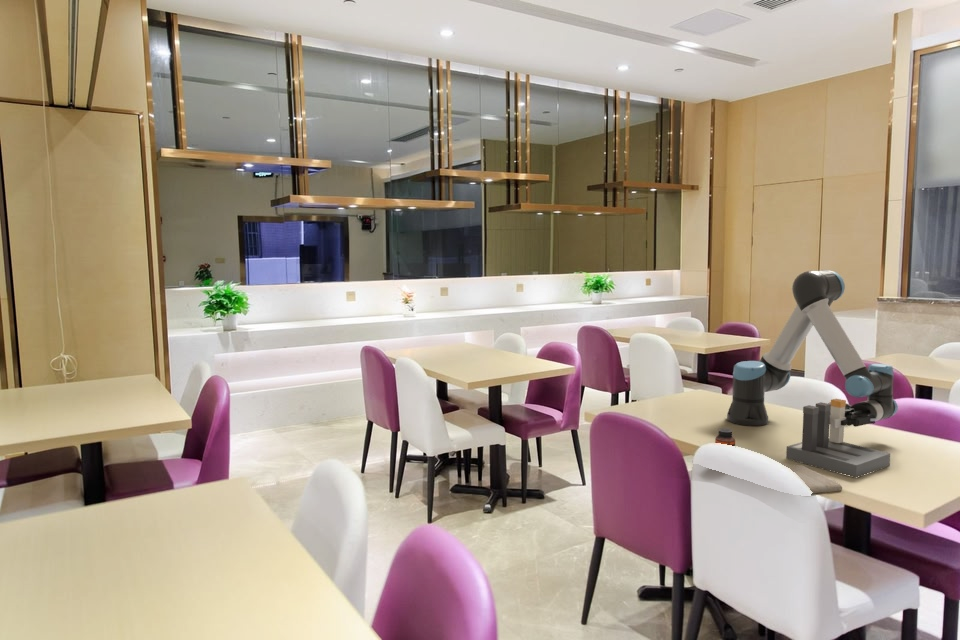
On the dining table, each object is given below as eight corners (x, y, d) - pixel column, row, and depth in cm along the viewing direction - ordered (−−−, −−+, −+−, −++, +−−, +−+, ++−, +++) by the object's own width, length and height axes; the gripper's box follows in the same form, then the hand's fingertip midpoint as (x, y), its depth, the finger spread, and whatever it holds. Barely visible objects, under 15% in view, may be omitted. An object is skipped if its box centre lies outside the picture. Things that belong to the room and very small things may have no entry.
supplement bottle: (735, 463, 202) (736, 428, 200) (734, 469, 196) (735, 433, 195) (715, 461, 204) (716, 426, 203) (713, 466, 199) (714, 431, 198)
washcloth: (799, 471, 195) (799, 461, 195) (844, 492, 178) (845, 482, 178) (765, 474, 193) (765, 464, 192) (808, 496, 175) (808, 485, 175)
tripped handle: (828, 441, 210) (830, 399, 208) (833, 439, 212) (836, 398, 210) (838, 443, 207) (840, 401, 206) (843, 441, 209) (846, 400, 207)
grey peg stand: (786, 458, 206) (788, 404, 204) (820, 447, 217) (822, 396, 215) (856, 478, 188) (859, 419, 186) (889, 465, 198) (893, 409, 196)
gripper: (890, 428, 212) (853, 440, 199) (841, 418, 225) (803, 428, 213) (891, 406, 211) (854, 416, 199) (842, 397, 225) (804, 406, 212)
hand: (828, 422), depth 206 cm, fingers closed on tripped handle, 3 cm apart
